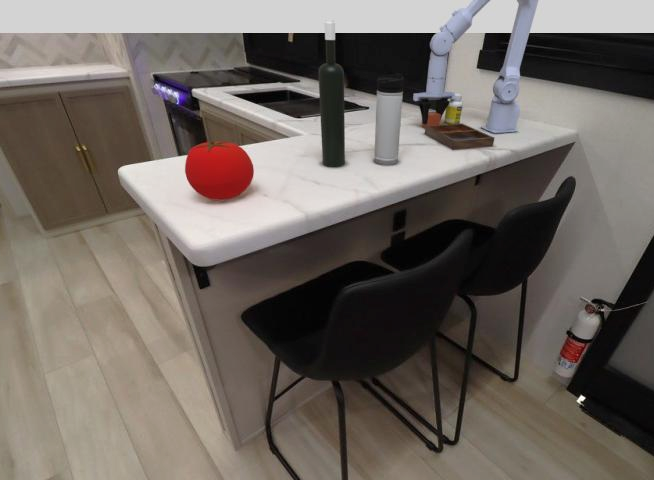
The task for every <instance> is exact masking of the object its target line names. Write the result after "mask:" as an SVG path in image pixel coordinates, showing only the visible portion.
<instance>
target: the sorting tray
mask: <svg viewBox="0 0 654 480" xmlns="http://www.w3.org/2000/svg"><path fill="white" fill-rule="evenodd" d="M424 135H425V136H427V137H429V138H430V139H433V140H434V141H436V142H438V143H440V144H442V145H443V146H445V147H446V148H449V149H450V150H452V151H458V150H467V149H468V150H469V149H479V148H489V147H490V148H491V147H493V146H494V143H495V137H494V136H492V135H490V134H487V133H485V132H483V131H481V130H478V129H477V128H474V127H471V126H469V125H467V124H465V123H462V122H461V123H459V124H447V125H444V124H440V125H432V126H425V128H424Z"/></svg>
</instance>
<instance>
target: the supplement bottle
mask: <svg viewBox="0 0 654 480" xmlns="http://www.w3.org/2000/svg"><path fill="white" fill-rule="evenodd" d="M462 99H463V94H462V93H455V97H454V99H449V100H448V101H449V105H448V106H447V108H446V109H445V112H444V118H443V119H444V120H443V125H447V124H461V123H460V122H461V116H462V111H463V106H464V105H463V102H462Z"/></svg>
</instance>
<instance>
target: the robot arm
mask: <svg viewBox="0 0 654 480" xmlns="http://www.w3.org/2000/svg"><path fill="white" fill-rule="evenodd" d="M490 1H491V0H472V1H471V2H470V3H469V4H468V5H467V7H465V8H461V7H460V8H459V9H458V10H454V11H453V12H452V13H451V15H452V16H451V17H450V18H449V19H448V20H447V22H446V23H444V25H441V26H440V27H438V28H439V30H440V31H439V32H436V33H435V34H433V36H432V37H431V40H430V41H429V48H430V50H431V51H430V54H429V60H428V61H429V62H428V69H427V78H426V89H425V92H424V91H423V92H418V93H417V92H416V93H413V96H412V101H414V102H417V104H418V108H419V111H420V115H421V124H422V123H423V124H427V120H428V113H429V112H430V109H431V105H432V103H431V102H430V101H435V112H436V113H438V114H441V119H440V122H441V121H442V118H443V116H444V114H445V112H446V108H447V106H448V105H449V101H450V99H454V97H455V94H456V92H453V91H445V84H446V76H447V68H448V58H449V57H448V56H449V52H450V51H451V49H452V45H453V44H455V43H457V41H458V40H459V39H461V37H462V36H463V35H464V34H465V33H466V32H468V30H469V29H470V28H471V27H472V24H473V18H474V17H475V16H476V15H477V14H478V13H479V12H480V11H481V10H482V9H483V8H485V6H486V5H487V4H489V2H490ZM516 2H517V4H518V6H517V9H516V14H515V17H514V22H513V26H512V30H511V34H510V37H509V42H508V45H507V50H506V53H505V58H504V60H503V61H504V62H503V65H502V67H501V69H500V70H499V73H498V77H497V79H496V80H495V81H494V83H493V85H492V93H493V94H494V96H493V97H492V98H491V101H490V102H491V103H490V108H489V112H488V117H487V123H486V125H482V126H480V128H481V129H483V130H485V131H488V132H490V133H492V134H503V133H515V132H517V131H518V130H517V125H518V120H519V117H520V113H521V105H520V103H519V102H518V101H516V98H517V97H518V96H519V93H520V79H521V71H520V69H521V65H522V61H523V57H524V55H525V51H526V46H527V43H528V40H529V35H530V32H531V28H532V26H533V21H534V17H535V15H536V10H537V7H538V3H539V0H516Z"/></svg>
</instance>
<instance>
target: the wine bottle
mask: <svg viewBox="0 0 654 480" xmlns="http://www.w3.org/2000/svg"><path fill="white" fill-rule="evenodd" d="M324 40H325V56H326V57H325V58H326V59H325V61H326V63H323V64H322V65H320V66H319V68H318V92H319V93H318V94H319V112H320V114H319V115H320V130H321V132H320V134H321V135H320V137H321V155H322V157H321V158H322V165H323V166H324V167H327V168H340V167H343V166H345V165H346V135H345V134H346V133H345V128H346V127H345V123H346V121H345V71H344V69H343V66H342V65H340V64H338V63H336V23H335V20H333V19H326V20H325V22H324Z"/></svg>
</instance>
